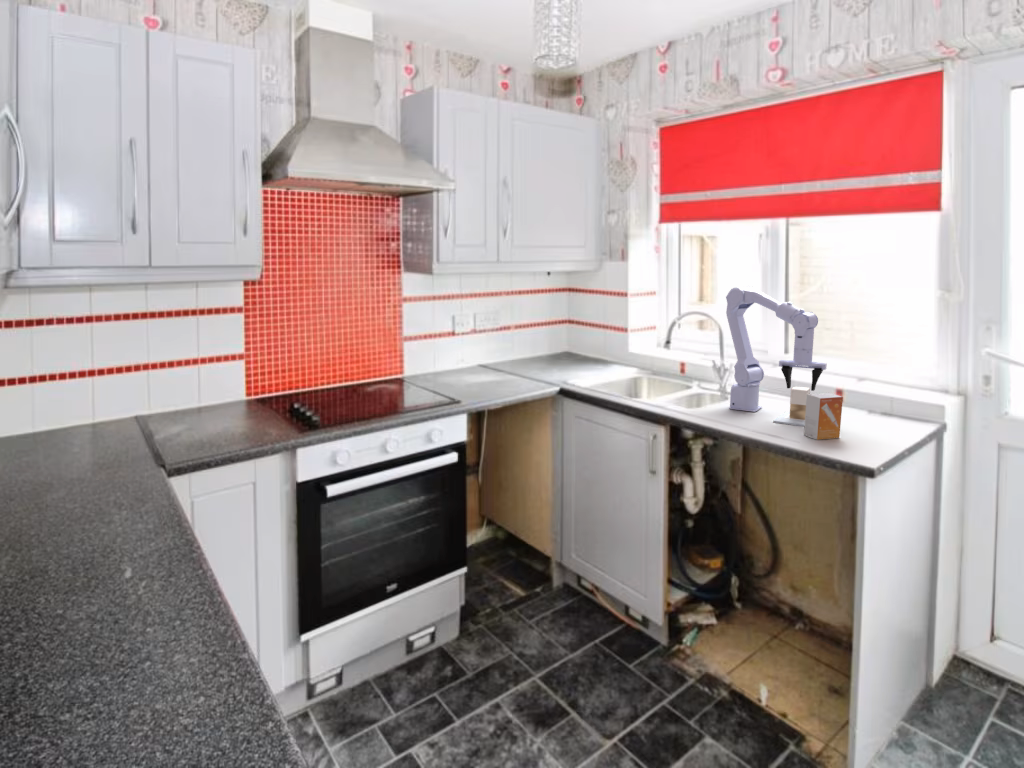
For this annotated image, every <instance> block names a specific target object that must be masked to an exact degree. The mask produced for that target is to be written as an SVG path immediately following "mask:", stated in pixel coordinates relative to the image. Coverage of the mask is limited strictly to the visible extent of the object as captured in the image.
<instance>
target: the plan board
mask: <svg viewBox="0 0 1024 768" xmlns="http://www.w3.org/2000/svg"><path fill="white" fill-rule="evenodd" d="M773 423H775V424H782V425H783V424H784V425H790V426H798V427H805V420H802V419H793V418H790V411H784V412H783V413H782V414H780V415H778V417H776V418H775V419H774V420H773Z"/></svg>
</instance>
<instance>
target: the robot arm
mask: <svg viewBox="0 0 1024 768" xmlns="http://www.w3.org/2000/svg"><path fill="white" fill-rule="evenodd" d="M725 300H726V312H725V313H726V318H727V322H728V326H729V330H730V335H731V339H732V343H733V347H734V350H735V354H736V359H737V361H736V362H735V364H734V366H733V367H734V375H733V376H734V380H735V382H736V383H733V384H732V385H731V388H730V392H729V393H730V395H729V398H730V399H729V408H728V409H730V410H737V411H745V412H754V413H756V412H757V411H759V410H761V409H762V408H763V407H762V406H761V405H759V399H760V398H759V397H760V384H761V382H762V380H763V379H764V377H765V371H764V369H763V368H762V366H761V364H760V362H759V360H758V359H757V358H755V357H754V354H753V350H752V346H751V342H750V338H749V333H748V330H747V325H746V323H745V322H746V321H745V317H744V314H745V313H746V311H747V310H748V309H749V308H750V307H751V306H753V305H754V304H758V305H760V306H762V307H764V308H766V309H769V310H771V311H772V312H775V313H774V314H775V316H776V317H777V318H778V319H780V320H781V321H782V320H783V321H784V322H785V323H787V324H789V325H791V326H792V328H793V329H794V344H793V345H794V346H793V360H786V359H780V360H779V361H778V367H781V368H780V369H781V373H782V374H783V377H784V379H785V384H786V389H792V388H791V386H792V373H793V368H800V369H811V374H812V375H811V386H810V392H811V391H813V392H814V391H815V390H816V386H817V383H818V382H819V381H818V380H819V378H820V377H821V374H822V373H823V371H826V370H827V362H819V361H818V362H817V361H813V353H814V352H813V349H814V339H815V338H814V336H815V335H814V334H815V328H816V327H817V326H818V324H819V317H818V316H817V315H816V313H814V312H813V311H807V312H806V311H805V309H804V308H799V307H797V306H796V305H793V304H794V303H793V302H791V301H783V302H780V301H778V300H776V299H775V298H773V297H771V296H770V295H767V294H766V293H764V292H762V291H761V290H760V289H758V288H755V287H753V286H746V287H745V286H743V287H733V288H731V289H730V290H729V291H728V293H727V295H726V296H725Z"/></svg>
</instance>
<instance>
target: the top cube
mask: <svg viewBox="0 0 1024 768" xmlns="http://www.w3.org/2000/svg"><path fill="white" fill-rule="evenodd" d="M807 394H811V387H805V386H804V387H803V386H794V387H792V388H790V401H789V405H790V404H798V405H806V399H807Z"/></svg>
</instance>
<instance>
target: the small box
mask: <svg viewBox="0 0 1024 768" xmlns="http://www.w3.org/2000/svg"><path fill="white" fill-rule="evenodd" d="M843 400H844V397H843V395H842V396H841V395H838V394H835V393H831V392H825V393H823V392H822V393H820V392H819V393H810V394H807V399H806V413H805V426H803V427H804V429H803V430H804V431H803V436H806V437H808V438H811V439H814V440H817V441H819V440H826V439H827V440H829V439H832V440H833V439H840V434H841V433H840V432H841V425H842V424H841V423H842V410H843V402H844V401H843Z"/></svg>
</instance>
